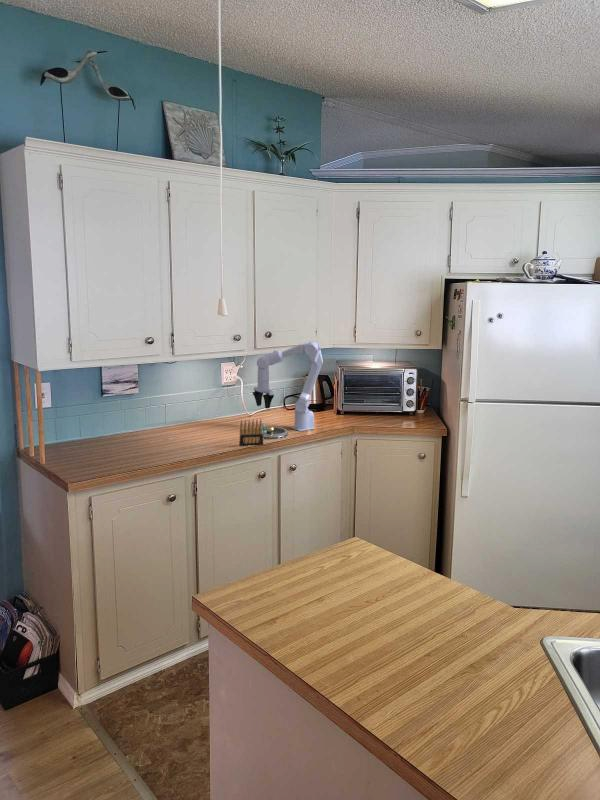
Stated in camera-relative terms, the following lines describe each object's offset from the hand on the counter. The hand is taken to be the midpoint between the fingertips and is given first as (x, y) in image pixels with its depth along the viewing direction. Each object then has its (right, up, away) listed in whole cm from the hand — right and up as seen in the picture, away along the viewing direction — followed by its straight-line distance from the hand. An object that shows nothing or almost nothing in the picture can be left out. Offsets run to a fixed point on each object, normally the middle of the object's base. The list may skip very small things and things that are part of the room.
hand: (263, 407), depth 328 cm
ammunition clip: (-4, -17, -33) cm, 37 cm away
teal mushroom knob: (+1, -13, -16) cm, 21 cm away
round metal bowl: (+4, -13, -13) cm, 19 cm away
